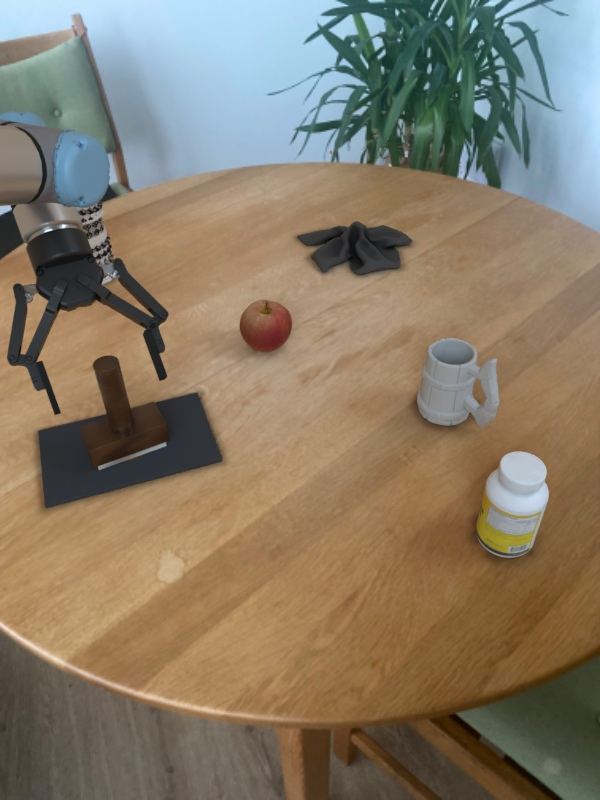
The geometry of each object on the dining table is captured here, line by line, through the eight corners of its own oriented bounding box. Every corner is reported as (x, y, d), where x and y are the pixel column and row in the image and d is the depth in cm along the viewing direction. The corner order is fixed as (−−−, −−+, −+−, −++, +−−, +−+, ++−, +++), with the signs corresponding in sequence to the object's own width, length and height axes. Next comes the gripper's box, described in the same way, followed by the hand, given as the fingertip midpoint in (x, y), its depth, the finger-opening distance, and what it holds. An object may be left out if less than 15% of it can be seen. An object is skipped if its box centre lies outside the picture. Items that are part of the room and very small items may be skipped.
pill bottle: (505, 506, 80) (525, 436, 72) (545, 545, 76) (570, 475, 68) (462, 528, 78) (477, 458, 70) (501, 570, 73) (521, 500, 66)
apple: (288, 327, 109) (287, 284, 104) (296, 356, 103) (294, 313, 98) (239, 332, 108) (235, 289, 103) (244, 362, 102) (239, 319, 97)
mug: (440, 383, 97) (450, 314, 89) (508, 425, 91) (526, 353, 83) (404, 407, 94) (411, 337, 86) (472, 452, 87) (487, 380, 79)
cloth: (414, 231, 133) (417, 201, 129) (405, 280, 119) (408, 248, 115) (303, 223, 136) (303, 194, 132) (282, 269, 123) (281, 238, 119)
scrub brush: (95, 473, 85) (67, 388, 75) (85, 448, 88) (57, 364, 79) (171, 446, 88) (153, 361, 79) (158, 423, 91) (140, 339, 82)
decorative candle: (108, 257, 128) (77, 121, 111) (127, 278, 122) (96, 138, 105) (61, 271, 124) (21, 133, 108) (77, 293, 118) (37, 151, 102)
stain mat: (46, 508, 81) (44, 504, 81) (39, 433, 91) (37, 429, 91) (222, 461, 87) (221, 457, 86) (197, 395, 97) (197, 391, 96)
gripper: (147, 225, 93) (199, 370, 93) (-45, 271, 85) (12, 431, 84) (152, 203, 86) (209, 360, 86) (-56, 252, 77) (6, 425, 77)
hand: (112, 395), depth 85 cm, fingers open, 13 cm apart
